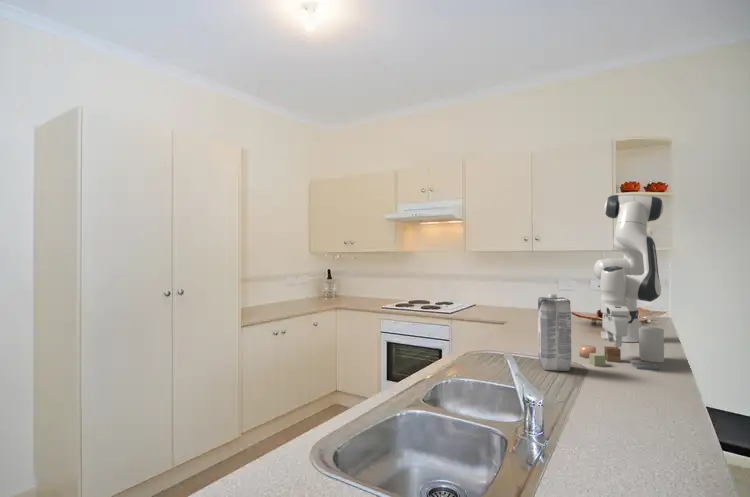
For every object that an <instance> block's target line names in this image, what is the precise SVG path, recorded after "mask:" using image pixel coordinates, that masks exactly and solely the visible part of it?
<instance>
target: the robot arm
mask: <svg viewBox="0 0 750 497" xmlns="http://www.w3.org/2000/svg"><path fill="white" fill-rule="evenodd" d="M603 210H604V213H605V215H606V217H607V218H610V219H614V220H615V219H616V223H615V229H614V236H613V246H614V248H615V249H616V250H617V251H620V252H622V253H623V255H622V256H623V257H606V258H602V259H598V260H597V261H596V262H595V263H594V265H593V273H594V276H595V277H596V279H598V280H600V281H599V282H600V286H599V289H600V292H601V297H600V313H602V321H601V322H602V324H601V325H602V326H601V327H602V329H604V330H603V331H602V330H601V331H600V336H601V339H603V340H604V339H605V340H607V341H608V342H609V343H614V347H618V348H621V347H622V343H624V342H625V343H639V327H643V325H642V324H643V323H642V322H641V321H640V320H639V319H638V318H639V311H638V310H637V307H638V305H637V304H638V302H637V301H642V302H653V301H655V300H656V299H658V298H659V297H660V296H661V294H662V286H661V281H660V276H659V267H658V257H657V256H658V255H657V248H656V243H655V241H654V239H653V238H652V237H650V236H649V235H648V232H647V231H648V230H647V226H648V222H654V221H656V220H657V221H658V219H660V217H661V216H662V214H663V212H664V204H663V200H662V199H661V198H659V197H657V196H653V195H652V196H646V195H641V194H640V195H639V194H638V195H637V194H635V195H634V194H633V195H632V194H629V195H626V194H624V195H623V194H622V195H619V194H613V195H610V196H608V197H607V199H606V201H605V203H604V206H603Z"/></svg>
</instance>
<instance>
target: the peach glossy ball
mask: <svg viewBox="0 0 750 497" xmlns="http://www.w3.org/2000/svg"><path fill="white" fill-rule="evenodd" d="M578 350H579V352H578V353H579V357H580V358H582V357H583V359H588V358H589V353H597V347H596V346H593V345H584V344H583V345H579V347H578Z"/></svg>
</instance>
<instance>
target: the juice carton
mask: <svg viewBox="0 0 750 497" xmlns="http://www.w3.org/2000/svg"><path fill="white" fill-rule="evenodd" d="M571 309H572V308H571V300H569V299H567V298H566V297H558V296H557V294H553V293H552V294H550V293H549V294H548V297H546V296H545V297H544V296H543V297H541V296H540V297H538V300H537V354H538V355H537V356H538V359H539V363H540V366H541V367H542V369H543V370H544V371H560V372H569V371H570V368H571V365H572V312H571V311H572V310H571Z"/></svg>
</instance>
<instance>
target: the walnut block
mask: <svg viewBox="0 0 750 497" xmlns="http://www.w3.org/2000/svg"><path fill="white" fill-rule="evenodd" d="M603 347H604V355H605V362H607V363H621V359H622V358H621V357H622V356H621V348H620V347H616V346H607V345H605V346H603Z"/></svg>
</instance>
